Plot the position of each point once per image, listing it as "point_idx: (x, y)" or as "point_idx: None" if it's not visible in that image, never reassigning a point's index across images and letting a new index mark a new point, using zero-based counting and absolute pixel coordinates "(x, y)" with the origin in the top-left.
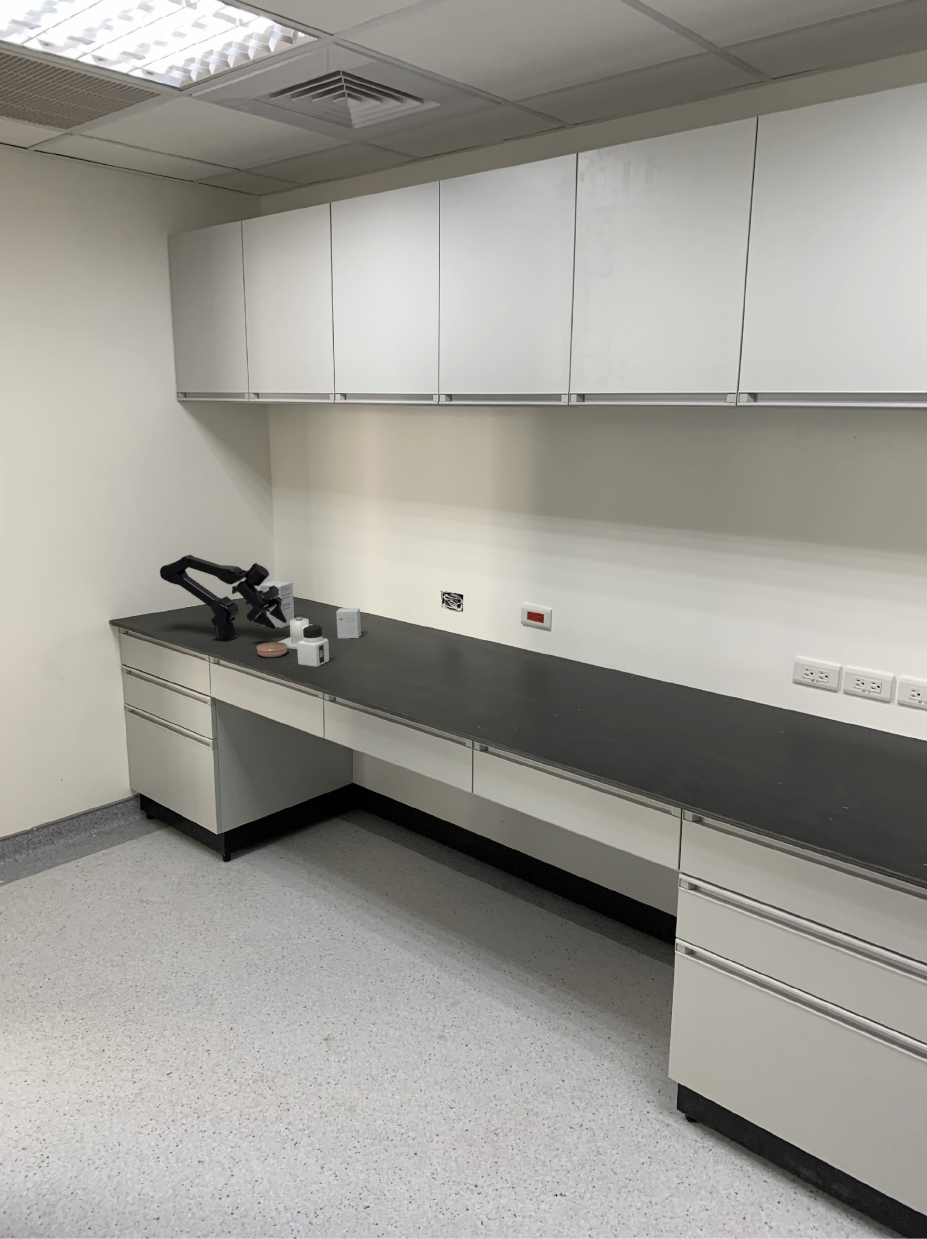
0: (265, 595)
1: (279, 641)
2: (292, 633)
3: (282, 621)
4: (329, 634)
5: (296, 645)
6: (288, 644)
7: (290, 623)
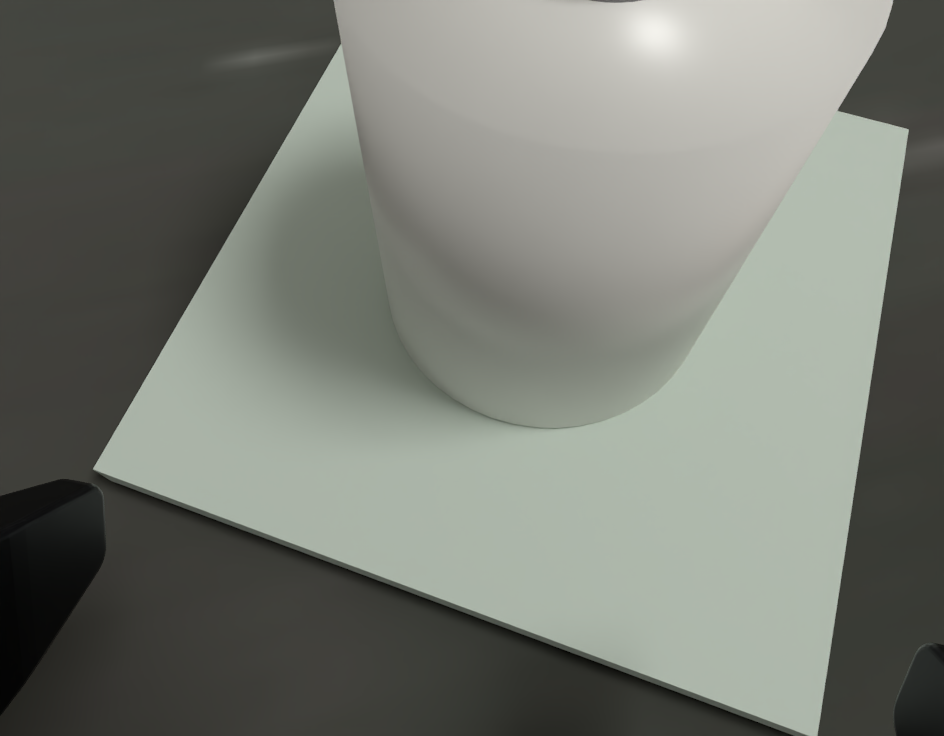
0: None
1: (586, 652)
2: (740, 266)
3: (45, 637)
4: (43, 40)
5: (802, 279)
6: (770, 419)
7: (794, 152)
